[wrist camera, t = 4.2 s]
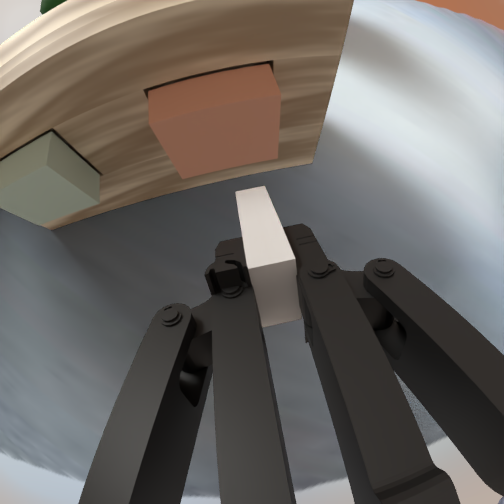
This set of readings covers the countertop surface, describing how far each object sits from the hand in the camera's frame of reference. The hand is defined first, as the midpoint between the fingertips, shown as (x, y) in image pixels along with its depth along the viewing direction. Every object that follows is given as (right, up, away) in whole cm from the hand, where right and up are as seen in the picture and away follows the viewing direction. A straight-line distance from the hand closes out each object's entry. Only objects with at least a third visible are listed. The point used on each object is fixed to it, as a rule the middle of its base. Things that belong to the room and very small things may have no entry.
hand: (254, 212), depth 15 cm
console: (-11, +9, +18) cm, 23 cm away
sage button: (-18, +3, +9) cm, 20 cm away
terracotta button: (-2, +6, +8) cm, 11 cm away
